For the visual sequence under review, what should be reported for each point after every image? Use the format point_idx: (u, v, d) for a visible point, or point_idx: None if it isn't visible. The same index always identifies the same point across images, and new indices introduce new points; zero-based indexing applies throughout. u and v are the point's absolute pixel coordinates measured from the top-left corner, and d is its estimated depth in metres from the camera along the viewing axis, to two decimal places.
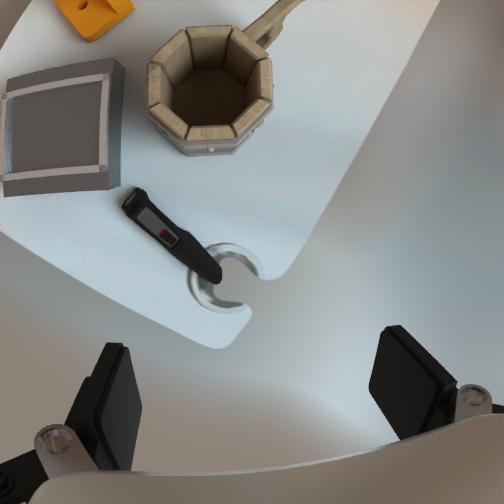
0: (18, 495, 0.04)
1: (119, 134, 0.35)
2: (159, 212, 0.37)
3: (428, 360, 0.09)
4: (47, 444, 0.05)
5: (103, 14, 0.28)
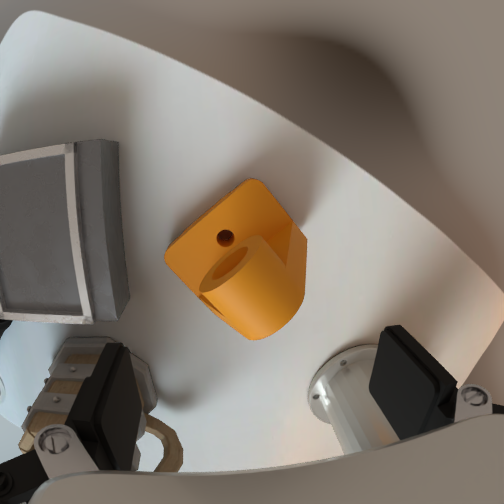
0: (18, 495, 0.04)
1: None
2: None
3: (428, 360, 0.09)
4: (47, 444, 0.05)
5: (201, 276, 0.28)
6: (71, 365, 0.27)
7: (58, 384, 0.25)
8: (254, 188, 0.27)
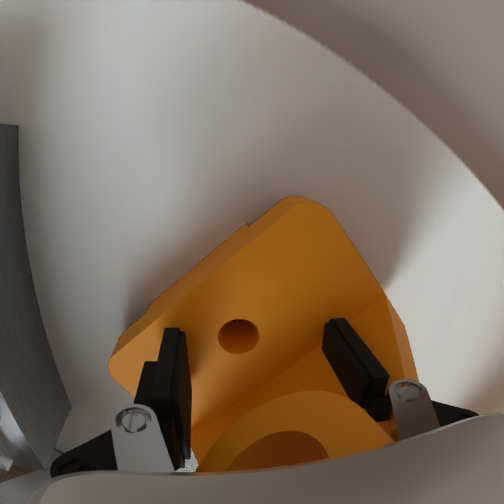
0: None
1: None
2: None
3: (363, 352, 0.09)
4: (124, 424, 0.07)
5: None
6: None
7: None
8: (310, 224, 0.11)
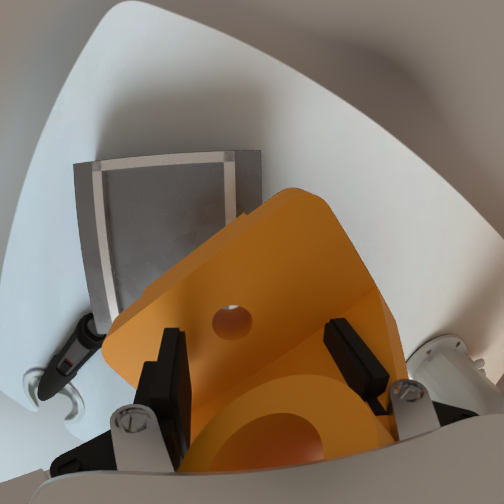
0: None
1: None
2: None
3: (363, 352, 0.09)
4: (124, 424, 0.07)
5: None
6: None
7: None
8: (307, 215, 0.11)
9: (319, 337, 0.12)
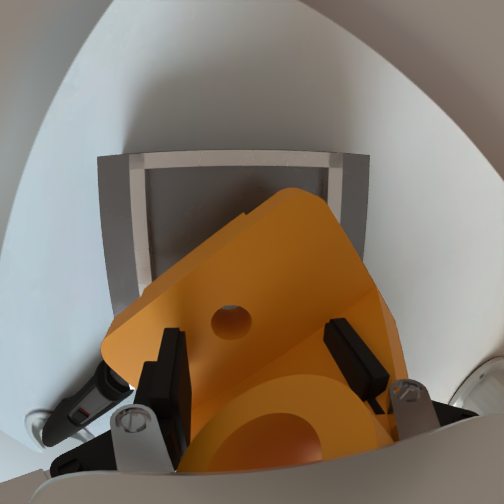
0: None
1: None
2: (108, 410, 0.24)
3: (363, 352, 0.09)
4: (124, 424, 0.07)
5: None
6: None
7: None
8: (306, 215, 0.11)
9: (318, 337, 0.12)
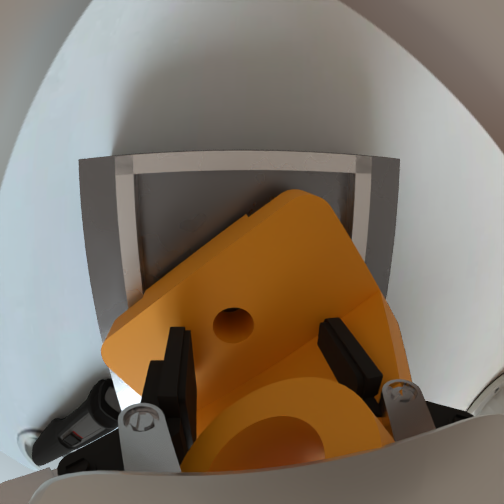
0: None
1: None
2: (102, 435, 0.21)
3: (357, 352, 0.09)
4: (132, 423, 0.07)
5: None
6: None
7: None
8: (309, 217, 0.11)
9: None
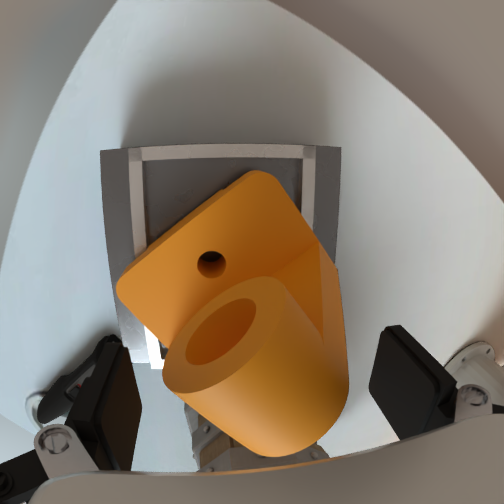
0: (18, 495, 0.04)
1: None
2: None
3: (428, 360, 0.09)
4: (47, 444, 0.05)
5: (172, 319, 0.18)
6: None
7: None
8: (262, 187, 0.16)
9: (275, 277, 0.17)
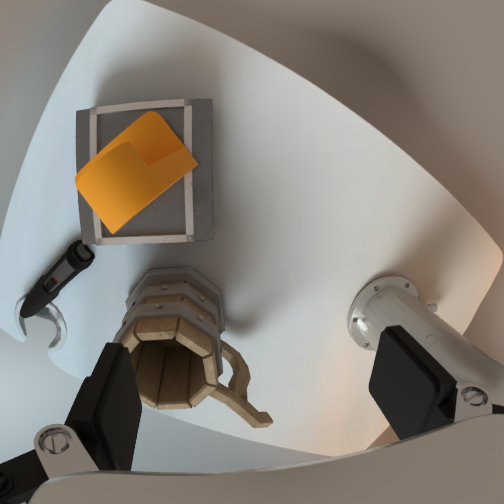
0: (18, 495, 0.04)
1: None
2: (70, 279, 0.38)
3: (428, 360, 0.09)
4: (47, 444, 0.05)
5: None
6: (160, 286, 0.36)
7: (152, 300, 0.34)
8: (151, 118, 0.28)
9: None
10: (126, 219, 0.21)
